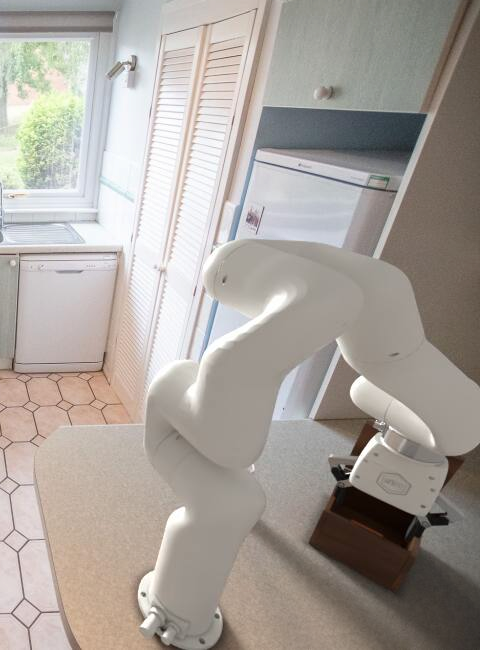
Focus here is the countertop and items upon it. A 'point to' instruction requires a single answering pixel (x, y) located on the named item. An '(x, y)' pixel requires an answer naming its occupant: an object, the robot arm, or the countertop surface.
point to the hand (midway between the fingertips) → (372, 518)
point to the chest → (367, 536)
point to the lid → (370, 431)
